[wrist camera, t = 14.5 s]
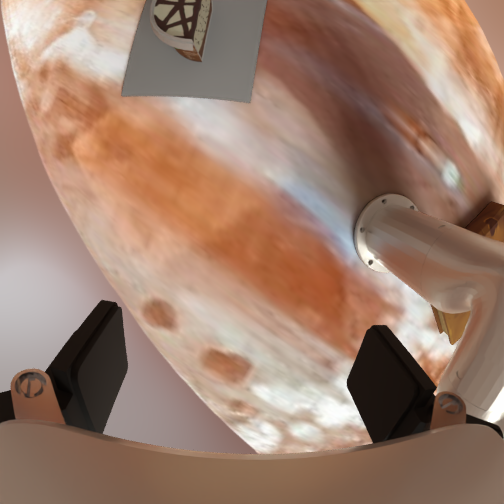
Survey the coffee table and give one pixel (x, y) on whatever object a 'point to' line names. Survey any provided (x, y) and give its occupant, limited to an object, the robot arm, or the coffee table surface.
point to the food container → (182, 25)
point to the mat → (214, 60)
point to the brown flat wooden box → (486, 224)
